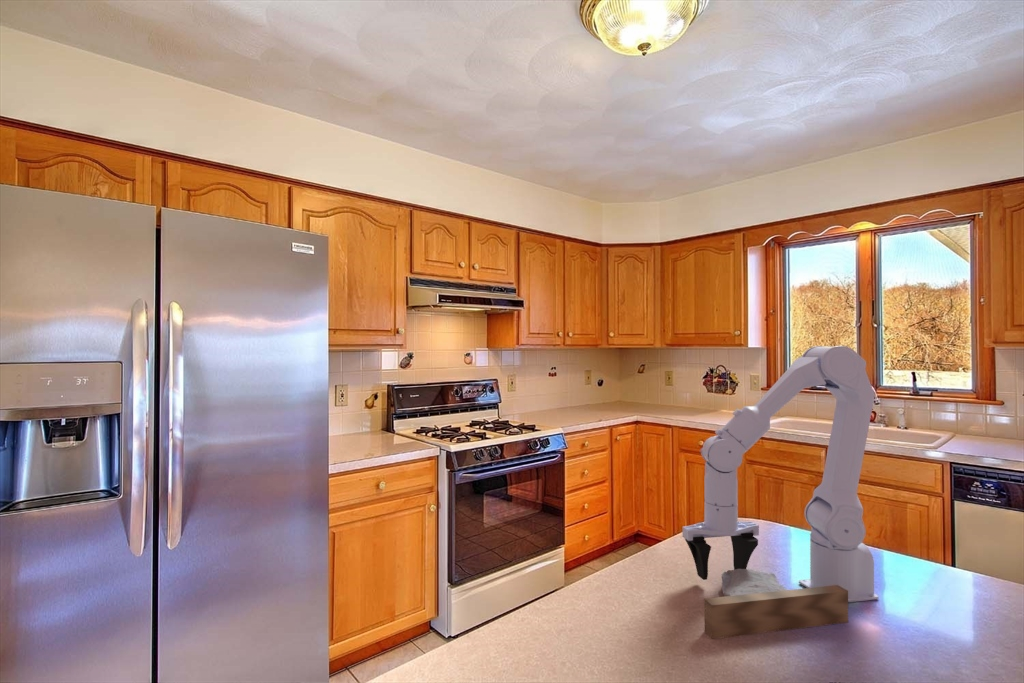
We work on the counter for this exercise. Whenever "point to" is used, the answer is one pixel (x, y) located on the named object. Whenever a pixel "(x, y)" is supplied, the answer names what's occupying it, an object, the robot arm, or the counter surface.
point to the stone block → (749, 582)
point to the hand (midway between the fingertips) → (720, 575)
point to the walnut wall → (775, 611)
